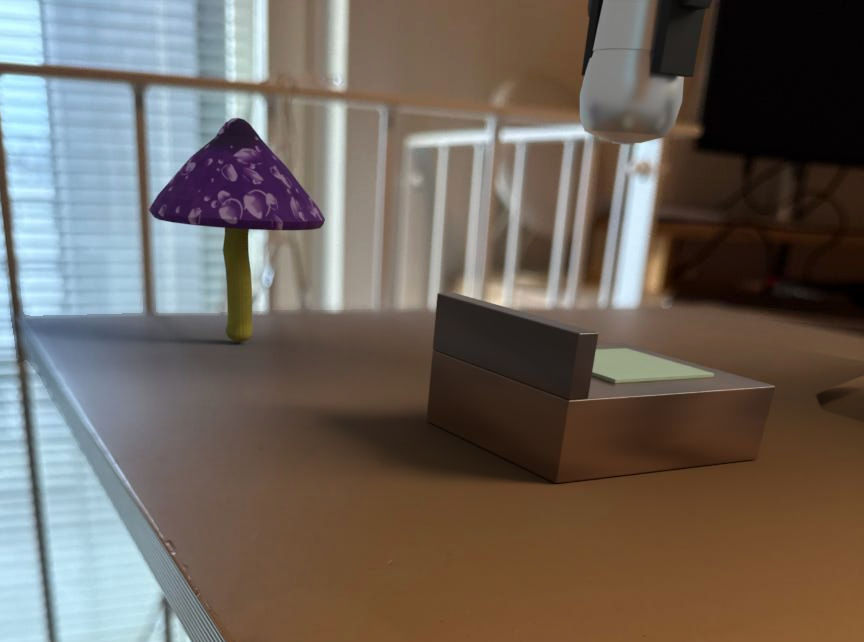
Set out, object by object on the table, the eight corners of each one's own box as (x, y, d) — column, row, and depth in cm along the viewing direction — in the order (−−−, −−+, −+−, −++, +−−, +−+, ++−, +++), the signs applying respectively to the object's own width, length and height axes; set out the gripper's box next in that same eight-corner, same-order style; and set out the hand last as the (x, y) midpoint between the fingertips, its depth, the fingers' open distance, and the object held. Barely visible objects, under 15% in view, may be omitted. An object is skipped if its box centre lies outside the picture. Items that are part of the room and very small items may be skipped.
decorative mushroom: (245, 323, 80) (245, 120, 74) (355, 348, 73) (366, 127, 67) (119, 336, 72) (106, 107, 65) (231, 366, 65) (229, 114, 58)
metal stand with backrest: (611, 406, 62) (631, 292, 58) (757, 459, 52) (790, 327, 49) (425, 421, 55) (436, 292, 52) (555, 484, 46) (578, 333, 43)
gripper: (550, -384, 56) (502, 73, 67) (815, -559, 41) (699, 64, 52) (648, -347, 59) (587, 84, 70) (925, -496, 45) (795, 78, 55)
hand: (635, 75), depth 61 cm, fingers closed on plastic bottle, 6 cm apart
